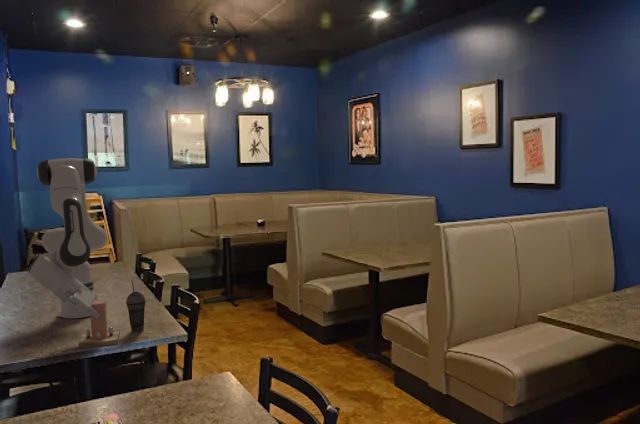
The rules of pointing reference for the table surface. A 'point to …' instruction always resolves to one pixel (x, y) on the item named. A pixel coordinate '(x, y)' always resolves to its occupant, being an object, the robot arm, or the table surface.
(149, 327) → the table surface
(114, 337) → the pin plate
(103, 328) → the terracotta post
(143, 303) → the beverage cup
